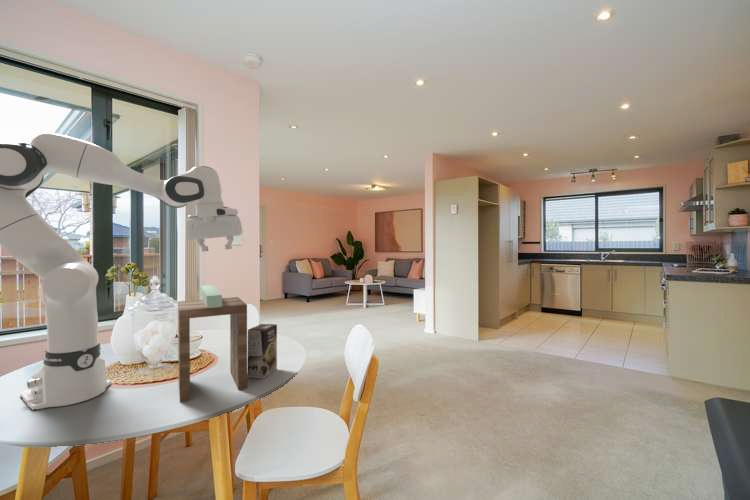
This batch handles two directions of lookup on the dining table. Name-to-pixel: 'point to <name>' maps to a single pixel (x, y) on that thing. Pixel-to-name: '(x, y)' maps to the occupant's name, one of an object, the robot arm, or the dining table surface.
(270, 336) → the coffee box
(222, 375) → the dining table surface
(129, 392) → the dining table surface
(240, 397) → the dining table surface
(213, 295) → the bar
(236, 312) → the stand
